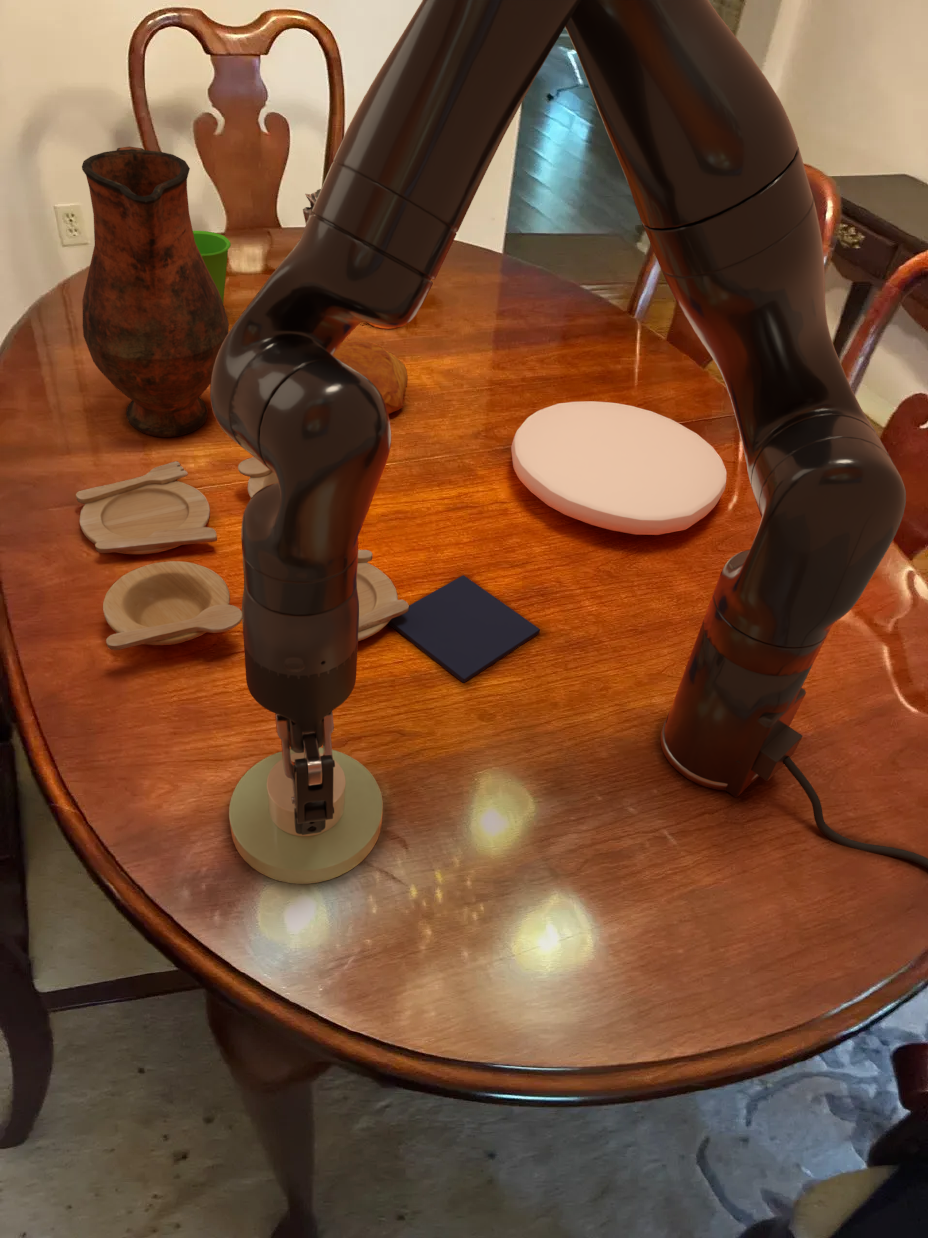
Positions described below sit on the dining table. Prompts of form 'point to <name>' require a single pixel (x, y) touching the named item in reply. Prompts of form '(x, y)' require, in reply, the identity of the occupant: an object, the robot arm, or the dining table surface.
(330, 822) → the beige short cylinder
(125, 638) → the tableware set
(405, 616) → the felt mat
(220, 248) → the cup
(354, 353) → the croissant
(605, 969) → the dining table surface
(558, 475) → the white thick round disc
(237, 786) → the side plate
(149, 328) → the pitcher
